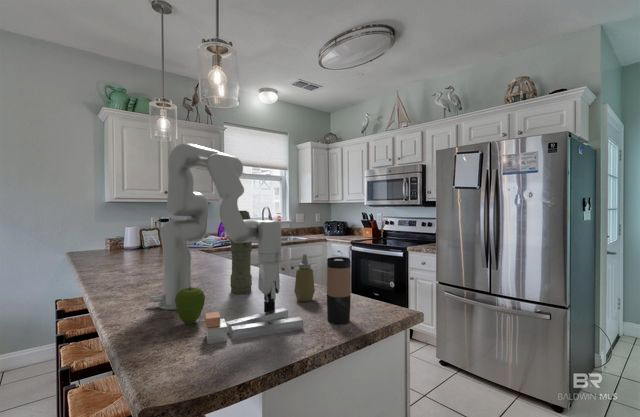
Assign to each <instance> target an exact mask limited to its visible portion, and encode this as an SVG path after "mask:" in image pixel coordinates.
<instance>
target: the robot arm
mask: <svg viewBox="0 0 640 417" xmlns="http://www.w3.org/2000/svg"><path fill="white" fill-rule="evenodd" d="M167 168H168V184H167V187H168V188H167V200H166V207H167V208H166V209H167V211H168V213H169V214H170V215H172V216H174V217H175V216H176V217H186V219H174V220H168V221H167V222H165V223H164V224H163V225H162V227H161V228H160V232H159V234H160V236H159V237H160V241H161V246H162V255H163V256H162V263H163V266H162V268H163V270H162V272H163V274H162V276H163V278H162V279H163V282H162V284H163V285H162V286H163V287H162V289H163V290H162V291H163V292H162V294H159V295H149V302H152V303H158V302H159V303H158V308H159V309H160V310H167V311H169V310H177V308H176V302H175V298H176V295H177V293H178V292H179V291H180V290H182V289H185V288H192V253H191V251H190V249H189V247H188V245H190V244H197V243H200V242H202V241H203V240H204V238H205V237H206V233H207V228H208V215H209V203H208V199H207V198H206V196H205V195H204V194H203V193H201V192H199V191H194V184H195V183H194V182H195V181H194V176H193V173H192V171H191V169H196V170H202V171H208V173H209V175H210V177H211V180H212V182H213V184H214V186H215V189H216V191H217V193H218V195H219V198H220V203H219V218H220V222H221V224H222V226H223V229H224V231H225V233H226V234H227V237H228V239H229V240H230V241H231V240H232V241H234V242H236V243H246V242H257V263H258V264H259V268H258V286H257V287H258V290H259V291H260V292H261V294H263V299H264V300H263V301H264V302H263V305H264V306H263V308H264V309H263V313H264V312H268V311H272V310H276V299H277V294H279V292H280V288H281V287H280V286H281V284H280V283H281V282H280V266H279V265H280V263H281V262H282V224H281V222H280V221H279V220H271V219H270V220H261V219H256V218H255V219H251V218H250V220H243V218H242V216H241V214H240V212H239V211H240V209H239V205H238V202H239V198H240V197H242V195H244V194H245V187H244V185H243V184H242V181H241V179H240V177H241V176H242V175H243V172H244V166H243V163H242V161H241V160H240V159H239V158H238V157H237V156H234V155H230V154H227V153H224V152H222V151H219V150H216V149H212V148H210V147H206V146H202V145H200V144H199V145H198V144H195V143H186V142H185V143H180V144H177V145H176V146H174V147H173V148H172V150H171V151H170V153H169V155H168V160H167Z"/></svg>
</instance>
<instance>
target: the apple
mask: <svg viewBox="0 0 640 417" xmlns="http://www.w3.org/2000/svg"><path fill="white" fill-rule="evenodd" d="M205 299H206V296H205V293H204V291H203V290H202V289H201V288H199V287H191V288H185V289H182V290H180V291H179V292H178V293H177V295H176V298H175V302H176V308H177V309H176V310H177V311H176V312H177V314H178V316H179V319H180V320H181V321H182V322H183V323H184V324H186V325H191V324H195V323H196V322H197V321H198V319H199V318H200V317H201V315H202V312H203V309H204V305H205V301H206V300H205Z"/></svg>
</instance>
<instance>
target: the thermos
mask: <svg viewBox="0 0 640 417" xmlns="http://www.w3.org/2000/svg"><path fill="white" fill-rule="evenodd" d="M239 212H240V214H241V216H242V218H243V220H251V215H250V212H249V211H248V210H239ZM252 242H253V241H252ZM252 242H246V243H236V242H234V241H232V240H231V239H230V253H231V275H230V293H231V294H233V295H246V294H249V293H251V292H252V285H253V283H252V281H253V279H252V278H253V276H252V273H251V263H252V262H251V259H252V258H251V257H252V256H251V254H252V250H253V249H252V248H253V247H252Z"/></svg>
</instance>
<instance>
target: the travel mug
mask: <svg viewBox="0 0 640 417" xmlns="http://www.w3.org/2000/svg"><path fill="white" fill-rule="evenodd" d="M326 263H327V264H326V267H327V268H326V307H327V308H326V309H327V310H326V312H327V322H328V323H329V324H331V325H335V326H336V325H338V326H339V325H341V326H342V325H347V324H349V323H350V320H351V319H350V317H351V298H352V297H351V287H352V286H351V285H352V284H351V281H352V280H351V258H350V257H346V256H345V257H344V256H331V257H328V258H327V259H326Z"/></svg>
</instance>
